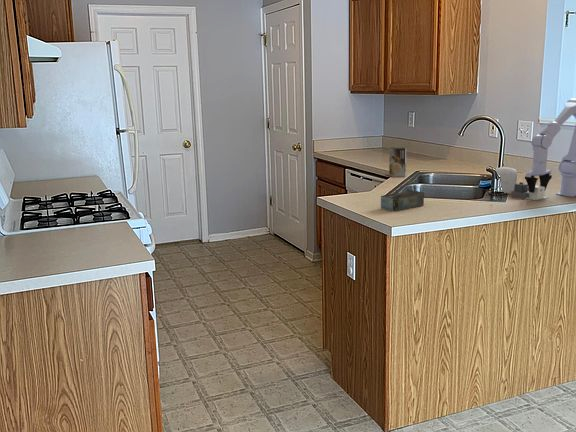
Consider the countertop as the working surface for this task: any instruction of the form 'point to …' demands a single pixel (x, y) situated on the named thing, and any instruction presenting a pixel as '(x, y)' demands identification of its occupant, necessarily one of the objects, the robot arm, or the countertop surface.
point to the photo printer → (507, 178)
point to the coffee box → (397, 162)
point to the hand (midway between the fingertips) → (537, 191)
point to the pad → (535, 198)
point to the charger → (537, 192)
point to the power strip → (520, 195)
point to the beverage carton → (402, 200)
